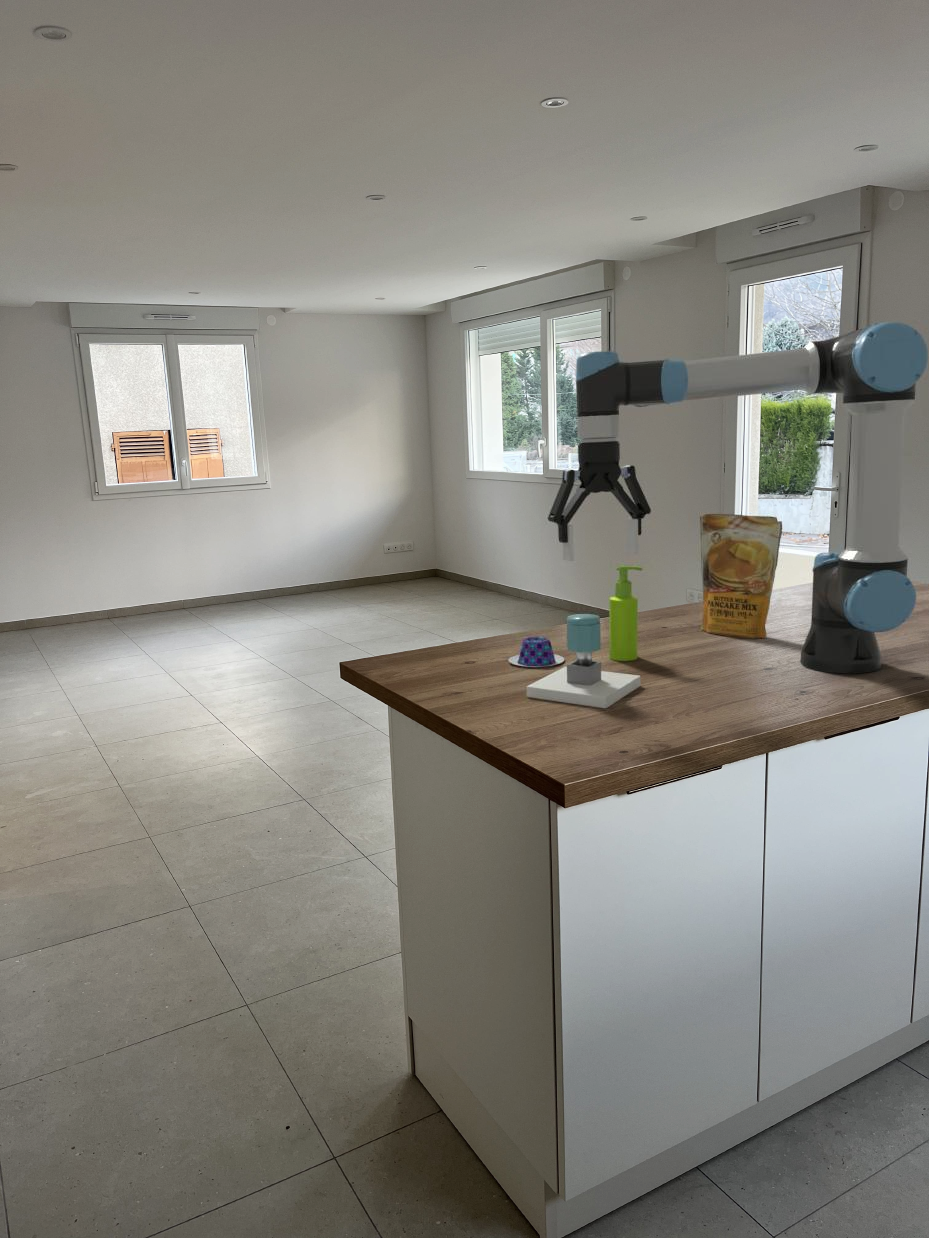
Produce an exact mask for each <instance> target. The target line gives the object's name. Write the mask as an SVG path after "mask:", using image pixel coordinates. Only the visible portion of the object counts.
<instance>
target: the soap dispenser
mask: <svg viewBox="0 0 929 1238" xmlns="http://www.w3.org/2000/svg"><path fill="white" fill-rule="evenodd" d="M628 570H629V571H631V570H633V571H634V570H635V571H640V572H641V571H642V570H643V566H639V565H633V564H632V565H630V564H629V565H617V566H616V571H618V572H619V573H618V574H619V578H618V580H617V581H615V582H614V583H615V584H614V585H615V594H614V596H611V597H609V603H608V604H609V607H608V609H609V659H610V660H612V661H616V662H629V661H630V662H632V661H635V660H637V659H638V597H636V596H634V595H632V594H633V593H632V588H633V587H632V581H631V580H629V579H628V578H629V577H628V574H629V573H628Z"/></svg>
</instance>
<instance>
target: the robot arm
mask: <svg viewBox="0 0 929 1238" xmlns="http://www.w3.org/2000/svg"><path fill="white" fill-rule="evenodd" d="M928 360H929V351H928V346H927V343H926V341H925V339H924V338H923V335H921V333H919V331H918V330H917V329H915V328H914V327H913V326H911V325H909V324H907V323H903V322H898V321H888V322H887V321H882V322H879V323H878V322H876V323H874V324H870V325H869V326H866V327H864V328H861V329H856V330H853V331H850V332H847V333H844V334H842V335H838V336H835V337H832V338H828V339H825V340H818V341H817V340H816V341H809V342H807V343H806V344H805V345H804V346H803V347H801V348H794V349H785V350H777V351H776V350H775V351H767V352H759V353H749V354H739V355H731V356H721V357H711V358H704V359H702V358H701V359H695V360H682V359H658V360H645V361H633V362H624V361H620V359H619V354H618V353H617V351H612V350H609V351H608V350H607V351H603V350H602V351H590V352H583V353H581V354H579V356H578V357H577V359H576V364H575V366H576V371H575V372H576V373H575V376H576V377H575V390H576V391H575V392H576V393H575V394H576V419H577V421H576V422H577V439H578V440H580V442H579V443H578V444H577V460H578V461H577V462H578V466H579V467H578V469H577V470H575V469H567V468H566V469H564V470H563V471H562V480H561V484H560V487H559V489H558V490H557V494H556V497H555V499H554V502H553V505H552V507H551V509H550V511H549V514H548V517H547V520H548V522H550V523H554V524H557V531H558V535H557V536H558V542H559V543H562V560H563V561H566V562H567V561H568V562H574V559H575V558H574V557H575V556H574V527H573V526H574V525H572V524H569V523H570V522H571V520H572V519H573V517H575V514H576V513H577V511H578V510H579V508H580V507H581V506H582V504H583V503H584V502H585V500H586V498H587V497H588V496H589V495H591V493H593V494H597V493H602V492H603V493H604V492H605V493H609V492H610V493H611V494H612V495H613V496H614V497H615V498H616V500H617V501H618V503H620V505H621V506H622V507H623V508H624V509H625V511H626V512H627V513H628V515H629V516H630V517H628V518H626V542H627V543H626V547H627V549H626V550H627V551H626V553H627V554H632V555H638V554H639V536H642V519H644V518H645V516H647V515H650V514H651V513H652V509H651V506H650V505H649V503H648V499H647V498H646V496H645V494H644V492H643V489H642V487H641V485H640V483H639V481H638V477H637V475H636V473H637V472H636V467H635V466H634V465H629V464H625V465H623V466H622V467H620V459H621V452H620V451H621V449H620V448H621V447H620V445H621V444H620V442H619V441H618V440H617V438H618V439H619V438H620V435H621V433H620V406H634V407H638V408H645V407H649V406H655V405H670V404H675V403H682V402H683V403H685V402H693V401H704V400H712V399H722V398H730V397H741V396H742V397H744V396H750V395H751V396H752V395H753V396H754V395H760V394H771V393H782V392H789V391H800V390H804V391H805V392H806V393H807V394H808V395H814V394H822V393H823V394H842V406H843V407H844V408H845V409H846V410H847V411H848V412H849V413H850V414H851V429H850V456H849V459H850V462H849V486H848V487H849V488H848V489H849V491H848V519H847V520H848V521H847V522H848V523H847V546H846V548H845V549H844V550H843V551H840V552H839V551H838V552H834V551H833V552H819V553H818V554H817V555H815V557H814V560H813V566H812V597H811V599H812V600H811V621H810V622H811V623H810V624H811V625H810V627H809V630H808V633H807V635H806V637H805V641H804V643H803V646H802V648H801V650H800V664H801V665H803V666H804V667H806V668H809V669H812V670H815V671H820V672H827V673H834V674H835V673H837V674H864V673H872V672H876V671H877V670H880V669H881V668H882V653H881V650H880V647H879V642H878V639H877V635H876V633H883V632H884V633H885V632H889V631H892V630H894V629H896V628H898V627H900V626H901V625H902V624H903V623H905V622H906V621H907V620H908V619H909V617H911V615H912V613H913V612H914V610H915V606H916V604H917V593H916V589H915V586H914V584H913V582H912V581H911V580H910V578H908V559H909V558H908V555H907V553H905V552H904V551H903V550H902V549H901V548H900V529H901V526H900V525H901V524H900V523H901V504H902V478H903V459H904V457H903V455H904V436H905V435H904V434H905V413H906V411H907V409H909V408H910V407H911V406H912V405H913V404H914V403H915V402H916V389H917V387H916V386H917V382H919V380H920V378H921V377H922V376H923V374H924V373H925V370H926V368H927V365H928ZM620 476H621V477H622V478H623V480H624V483H625V484H626V487H627V489H628V491H629V493H630V496H631V497H630V496H629V494H628V493H627V492H626V491H625V490H624V487H623V486H622V484H621V482H619V479H620V478H621V477H620ZM577 479H578V480H579V481H580V484H578V486H577V488H575V493H574V494H573V496H572V497H571V499H570V500H569V497H570V495H571V493H572V490H573V488H574V486H575V482H577ZM568 500H569V502H568ZM567 502H568V503H567Z"/></svg>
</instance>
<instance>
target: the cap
mask: <svg viewBox="0 0 929 1238" xmlns="http://www.w3.org/2000/svg"><path fill="white" fill-rule="evenodd" d="M600 617H601V616H600V615H597V614H591V613H576V614H571V615H568V616H567V617H566V618H567V619H566V620H567V621H566V642H567V643H566V644H567V645H566V647H567V651H570V652H574V653H576V652H577V653H578V652H592V653H593V652H598V651H601V646H602V645H601V641H602V640H601V619H600Z"/></svg>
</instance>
